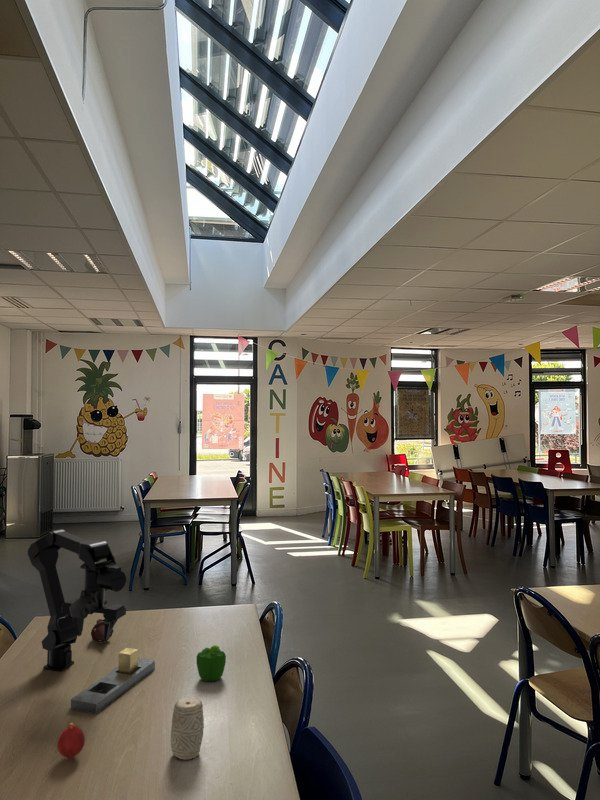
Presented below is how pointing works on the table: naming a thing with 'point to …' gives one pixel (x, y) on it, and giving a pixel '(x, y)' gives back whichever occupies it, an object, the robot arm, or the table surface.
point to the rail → (110, 688)
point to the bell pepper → (211, 663)
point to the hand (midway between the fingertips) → (92, 637)
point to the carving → (187, 728)
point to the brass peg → (128, 661)
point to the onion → (71, 741)
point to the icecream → (99, 631)
